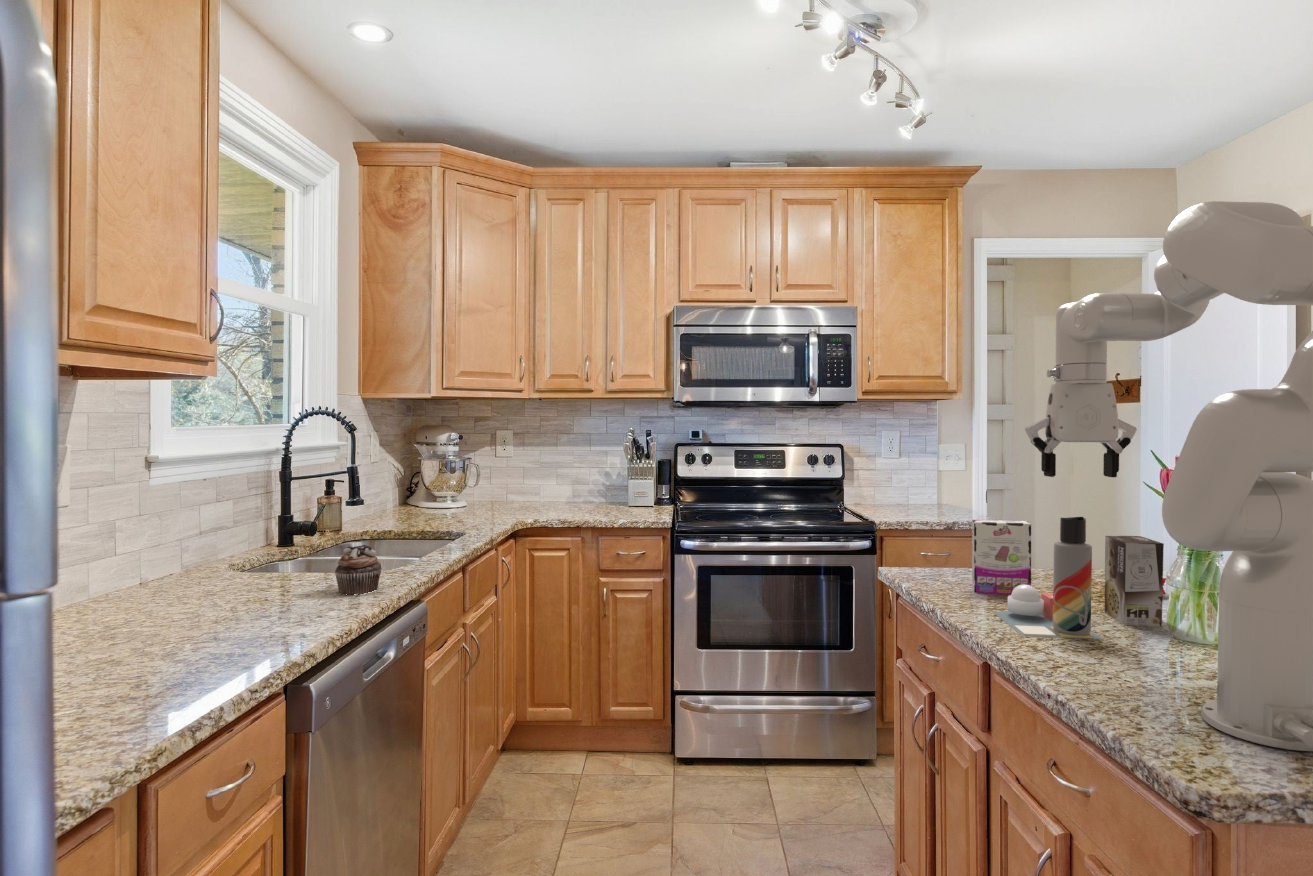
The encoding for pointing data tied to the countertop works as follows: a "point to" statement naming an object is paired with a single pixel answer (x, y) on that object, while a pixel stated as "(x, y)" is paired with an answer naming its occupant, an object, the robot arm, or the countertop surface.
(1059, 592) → the lotion bottle
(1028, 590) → the dome
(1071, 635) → the pad
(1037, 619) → the game board
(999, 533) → the candy bar box
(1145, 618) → the coffee box
